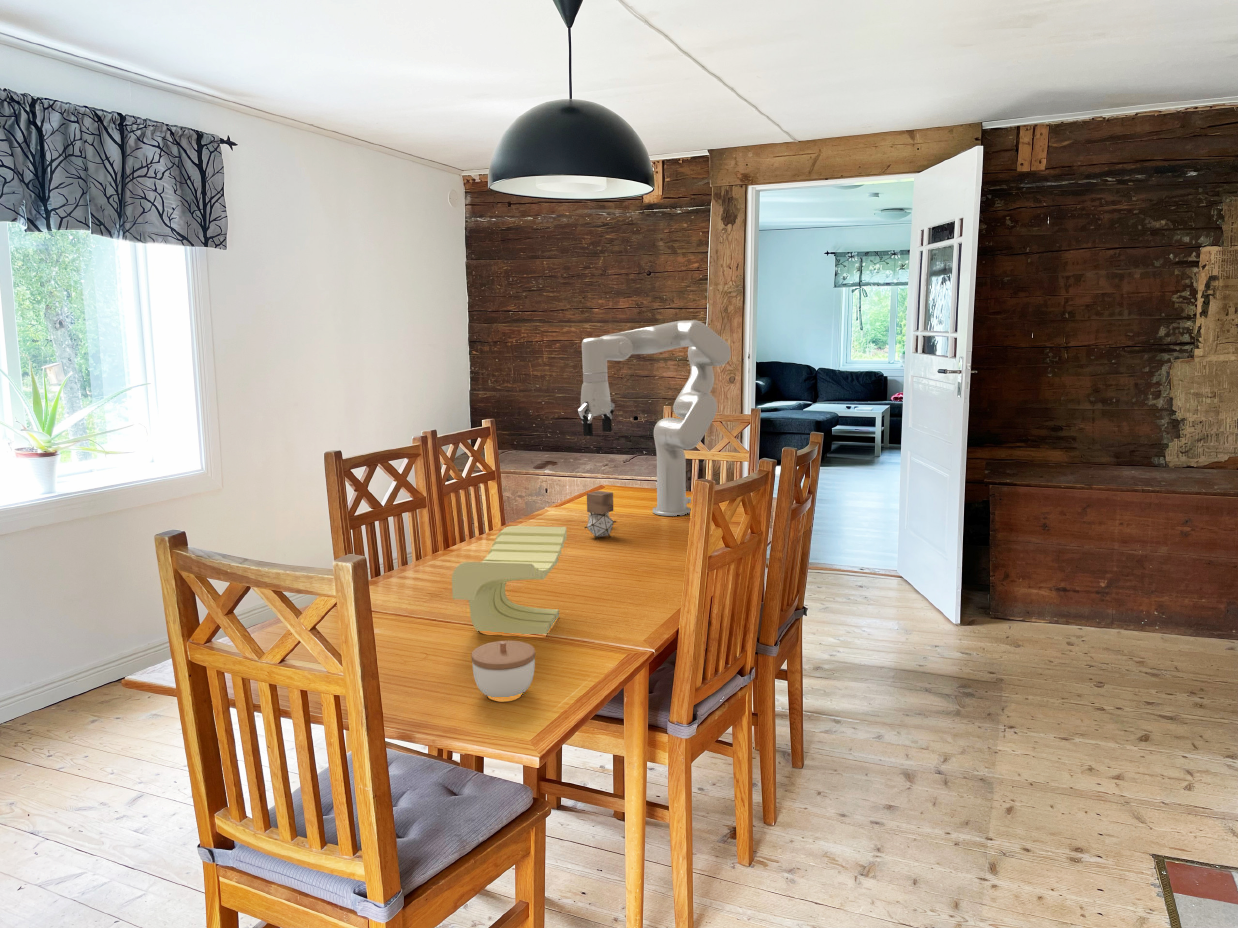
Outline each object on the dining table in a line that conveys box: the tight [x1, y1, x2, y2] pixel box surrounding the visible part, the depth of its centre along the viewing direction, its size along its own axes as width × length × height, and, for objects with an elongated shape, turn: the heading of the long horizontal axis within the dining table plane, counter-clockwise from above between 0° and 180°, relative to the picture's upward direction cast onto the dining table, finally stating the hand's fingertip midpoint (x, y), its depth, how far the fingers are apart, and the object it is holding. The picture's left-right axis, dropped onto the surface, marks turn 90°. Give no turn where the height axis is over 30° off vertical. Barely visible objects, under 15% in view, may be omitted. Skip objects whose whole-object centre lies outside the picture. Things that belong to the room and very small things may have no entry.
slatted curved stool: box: [451, 525, 568, 634], centre depth 180 cm, size 30×16×18 cm, turn 171°
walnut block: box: [586, 490, 614, 514], centre depth 254 cm, size 6×6×6 cm
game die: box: [584, 512, 618, 540], centre depth 255 cm, size 9×8×10 cm
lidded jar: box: [470, 640, 536, 697], centre depth 146 cm, size 11×11×9 cm
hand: (597, 433), depth 268 cm, fingers open, 9 cm apart
